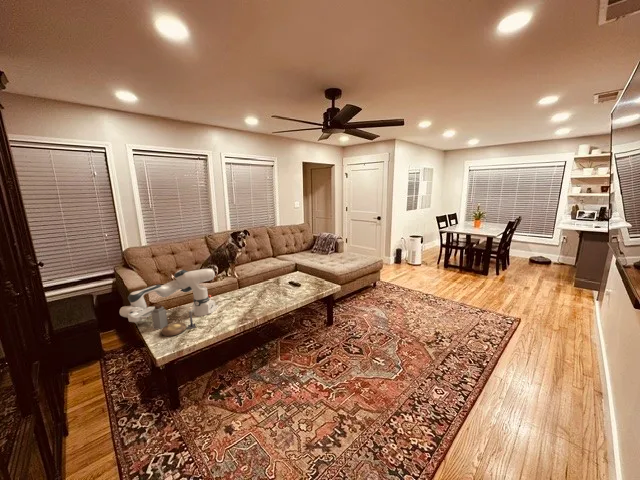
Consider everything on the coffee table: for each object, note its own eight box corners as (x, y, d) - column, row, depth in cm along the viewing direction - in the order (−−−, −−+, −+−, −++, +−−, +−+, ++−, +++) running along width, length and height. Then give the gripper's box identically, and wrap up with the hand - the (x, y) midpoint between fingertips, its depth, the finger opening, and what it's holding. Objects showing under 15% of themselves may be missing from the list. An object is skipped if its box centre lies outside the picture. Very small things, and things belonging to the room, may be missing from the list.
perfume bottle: (167, 324, 208) (165, 303, 205) (160, 329, 201) (158, 307, 198) (160, 324, 209) (158, 303, 206) (153, 328, 203) (150, 306, 200)
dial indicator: (188, 326, 205) (186, 306, 202) (195, 324, 208) (193, 304, 205) (188, 329, 201) (186, 308, 198) (195, 327, 203) (193, 307, 200)
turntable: (173, 324, 208) (172, 321, 207) (190, 326, 204) (190, 322, 204) (157, 334, 192) (156, 331, 192) (175, 336, 189) (175, 333, 188)
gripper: (149, 310, 219) (163, 312, 216) (127, 322, 199) (141, 324, 196) (148, 303, 218) (162, 305, 214) (125, 315, 198) (140, 317, 195)
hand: (152, 314), depth 205 cm, fingers open, 8 cm apart
